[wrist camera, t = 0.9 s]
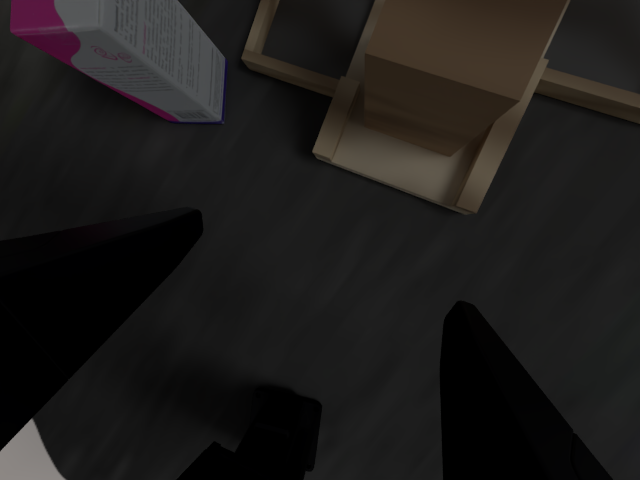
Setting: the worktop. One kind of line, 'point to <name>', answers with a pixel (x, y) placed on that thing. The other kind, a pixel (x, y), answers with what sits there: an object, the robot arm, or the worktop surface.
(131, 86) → the supplement box
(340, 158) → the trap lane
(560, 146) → the worktop surface
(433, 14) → the walnut block
